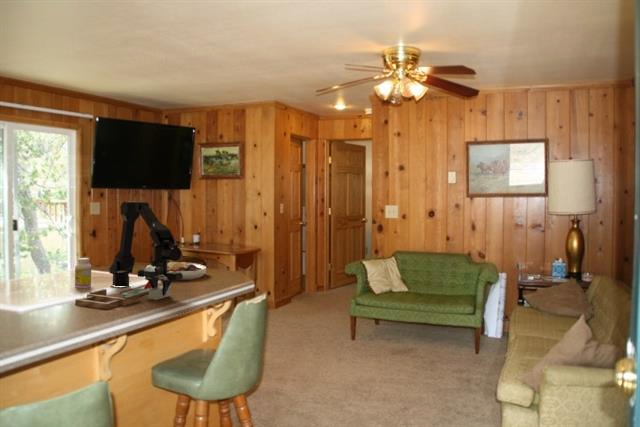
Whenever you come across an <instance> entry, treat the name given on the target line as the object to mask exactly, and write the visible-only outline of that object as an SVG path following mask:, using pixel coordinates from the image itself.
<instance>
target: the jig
mask: <svg viewBox="0 0 640 427" xmlns="http://www.w3.org/2000/svg"><path fill="white" fill-rule="evenodd" d="M107 292H108V289H106V288H103V289H102V288H101V289H99V290H95V291H93V290H92V291H89V293H86V297H82V298H76V299H74V300H75V303H74V304H75V306H82V307H89V308H96V309H102V310H103V309H104V310H109V309H112V308H115V307H118V306H122V305H123V306H124V305H125V306H128V305H131V304H135V303H137V302H140V300H141V298H140V297H141V296H140V294H138V293H136V294H133V295H129V296H125V297H116V296H109V295H108V294H107ZM134 302H135V303H134ZM127 304H128V305H127ZM125 306H124V307H125Z"/></svg>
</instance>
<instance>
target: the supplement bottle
mask: <svg viewBox="0 0 640 427" xmlns="http://www.w3.org/2000/svg"><path fill="white" fill-rule="evenodd" d="M89 262H90V258H89V257H79V258H77V264H76V265H75V268H74V287H75V288H78V289H86V288H85V287H88V288H90V287H91V286H92V265H91V263H89Z"/></svg>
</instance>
